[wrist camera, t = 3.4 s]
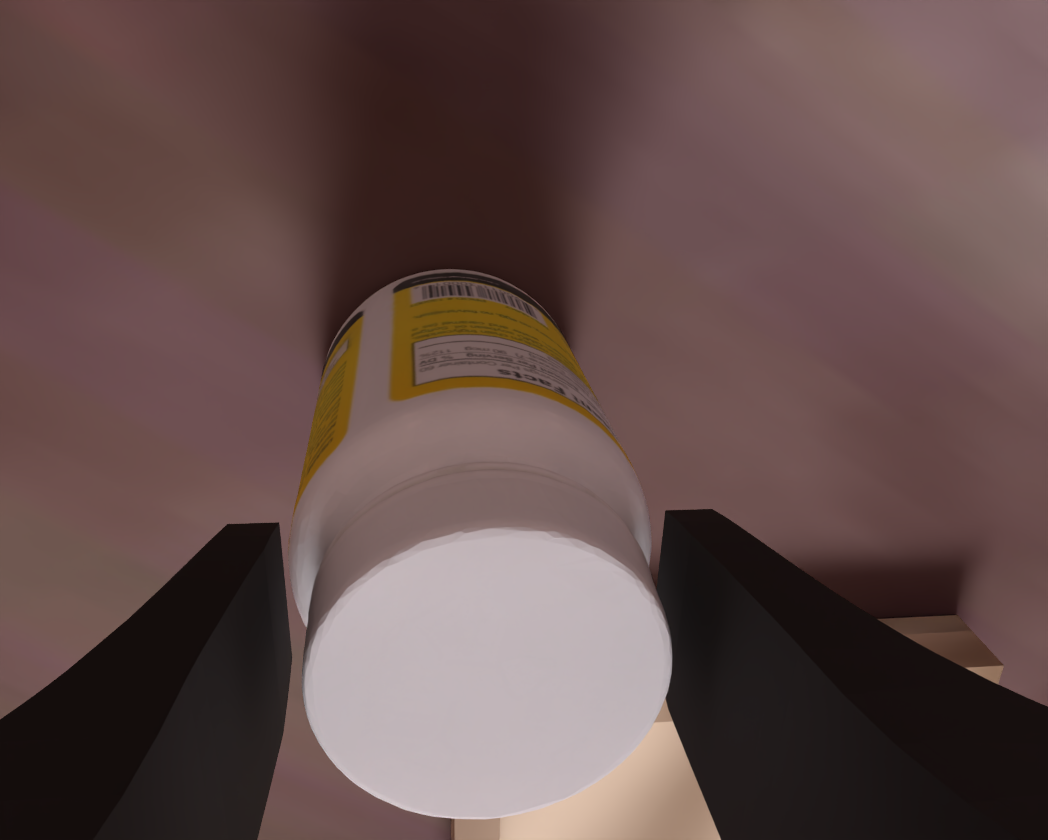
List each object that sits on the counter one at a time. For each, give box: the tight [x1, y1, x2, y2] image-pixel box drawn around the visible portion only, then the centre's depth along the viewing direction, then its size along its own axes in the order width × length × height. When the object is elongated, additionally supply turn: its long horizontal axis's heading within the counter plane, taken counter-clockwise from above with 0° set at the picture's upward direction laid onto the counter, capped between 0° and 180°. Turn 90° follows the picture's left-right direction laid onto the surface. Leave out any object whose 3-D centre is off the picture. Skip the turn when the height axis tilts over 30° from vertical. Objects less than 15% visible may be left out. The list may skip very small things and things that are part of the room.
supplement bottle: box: [288, 269, 672, 819], centre depth 13 cm, size 5×5×8 cm
